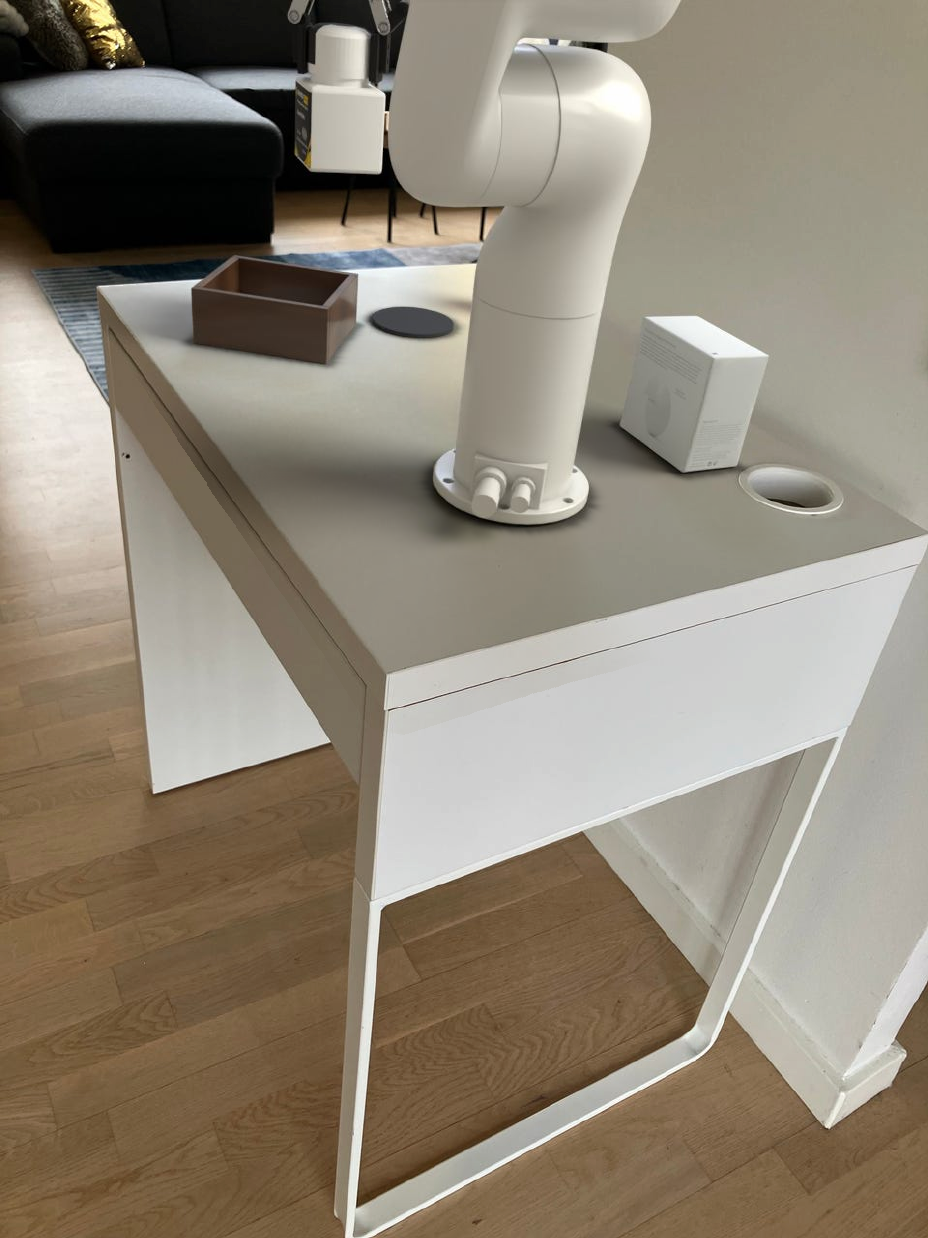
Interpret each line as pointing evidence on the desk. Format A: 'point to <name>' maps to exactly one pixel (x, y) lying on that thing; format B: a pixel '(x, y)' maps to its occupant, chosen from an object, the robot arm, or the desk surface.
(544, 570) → the desk surface
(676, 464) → the cosmetics box
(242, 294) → the desk caddy
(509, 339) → the robot arm
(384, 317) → the coaster
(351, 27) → the medicine bottle
